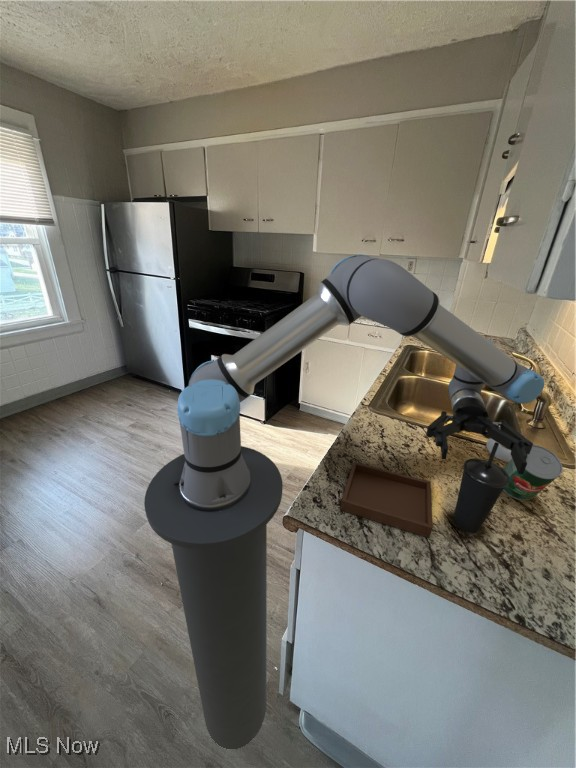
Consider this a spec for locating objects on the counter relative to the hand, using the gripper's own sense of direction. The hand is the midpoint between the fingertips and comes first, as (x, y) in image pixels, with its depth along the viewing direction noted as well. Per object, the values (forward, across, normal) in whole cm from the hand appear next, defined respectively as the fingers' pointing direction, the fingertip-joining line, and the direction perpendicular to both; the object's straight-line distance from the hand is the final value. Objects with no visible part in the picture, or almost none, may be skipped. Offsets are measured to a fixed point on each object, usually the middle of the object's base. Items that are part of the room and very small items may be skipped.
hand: (482, 461), depth 62 cm
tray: (+4, +17, -12) cm, 21 cm away
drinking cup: (+4, +1, -13) cm, 14 cm away
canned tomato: (-12, -11, -13) cm, 20 cm away
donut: (-26, -12, -14) cm, 32 cm away
